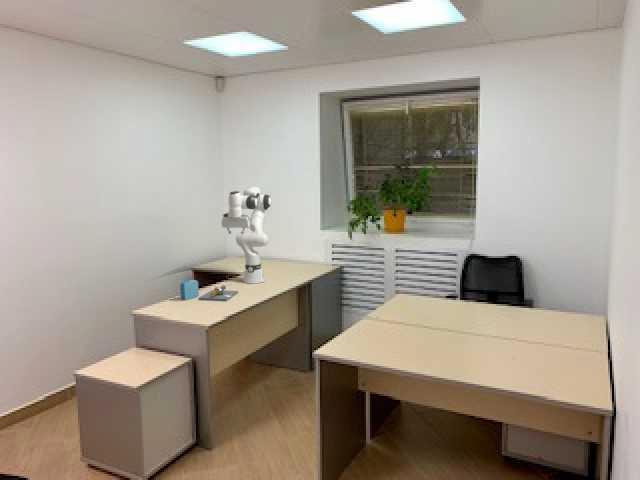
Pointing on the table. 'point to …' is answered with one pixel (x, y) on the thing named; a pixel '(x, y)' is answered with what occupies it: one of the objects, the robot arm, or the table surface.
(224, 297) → the stand
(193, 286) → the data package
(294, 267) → the table surface
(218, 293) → the bar with grey ball
